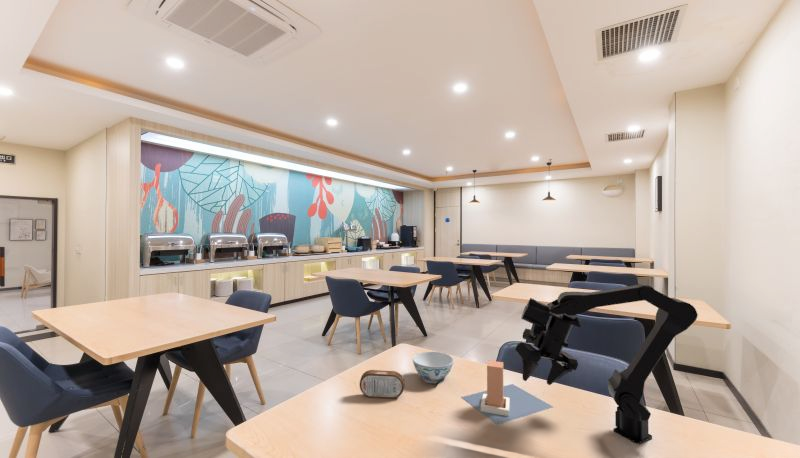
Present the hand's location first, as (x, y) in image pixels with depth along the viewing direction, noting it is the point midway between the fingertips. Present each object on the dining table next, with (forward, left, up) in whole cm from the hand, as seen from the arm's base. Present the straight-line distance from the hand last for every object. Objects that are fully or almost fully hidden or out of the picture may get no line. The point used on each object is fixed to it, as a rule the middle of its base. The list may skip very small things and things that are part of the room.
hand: (536, 382), depth 96 cm
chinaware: (+35, +14, -11) cm, 39 cm away
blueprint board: (+9, +3, -10) cm, 14 cm away
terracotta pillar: (+8, +8, -9) cm, 15 cm away
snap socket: (+8, +8, -9) cm, 15 cm away
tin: (+31, +36, -11) cm, 49 cm away
